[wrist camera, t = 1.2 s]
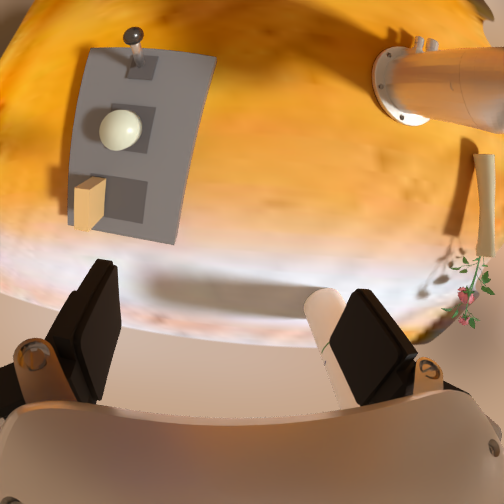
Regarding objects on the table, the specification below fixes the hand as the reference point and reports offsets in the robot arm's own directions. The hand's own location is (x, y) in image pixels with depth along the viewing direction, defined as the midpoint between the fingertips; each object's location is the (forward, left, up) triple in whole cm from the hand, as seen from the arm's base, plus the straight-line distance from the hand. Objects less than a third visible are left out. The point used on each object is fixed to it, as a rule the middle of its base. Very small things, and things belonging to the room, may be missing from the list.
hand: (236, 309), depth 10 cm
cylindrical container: (+19, +22, -27) cm, 39 cm away
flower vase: (-3, +49, -27) cm, 56 cm away
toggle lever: (-11, -12, -23) cm, 28 cm away
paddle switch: (+6, -15, -24) cm, 29 cm away
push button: (-3, -12, -22) cm, 25 cm away
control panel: (-1, -12, -27) cm, 30 cm away
